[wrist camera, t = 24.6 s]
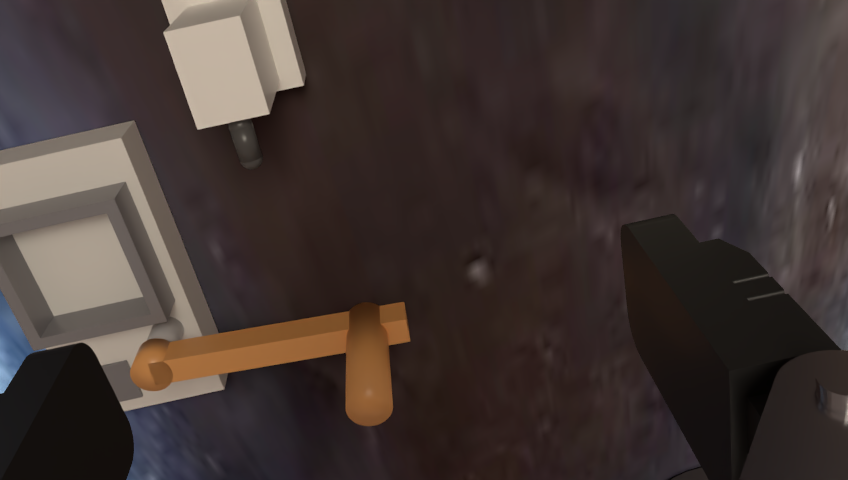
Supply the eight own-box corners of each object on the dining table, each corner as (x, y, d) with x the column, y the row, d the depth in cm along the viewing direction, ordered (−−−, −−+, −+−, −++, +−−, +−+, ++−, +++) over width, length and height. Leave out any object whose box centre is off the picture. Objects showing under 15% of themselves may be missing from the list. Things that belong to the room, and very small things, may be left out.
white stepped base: (230, 362, 45) (218, 413, 41) (96, 391, 46) (72, 444, 42) (134, 120, 38) (109, 153, 34) (-24, 155, 39) (-67, 192, 35)
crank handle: (145, 374, 40) (108, 471, 34) (132, 342, 39) (92, 435, 33) (409, 329, 40) (419, 417, 34) (402, 295, 39) (412, 380, 33)
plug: (316, 112, 39) (309, 165, 33) (219, 133, 39) (193, 190, 33) (277, -32, 36) (261, -4, 30) (170, -9, 36) (132, 24, 30)
